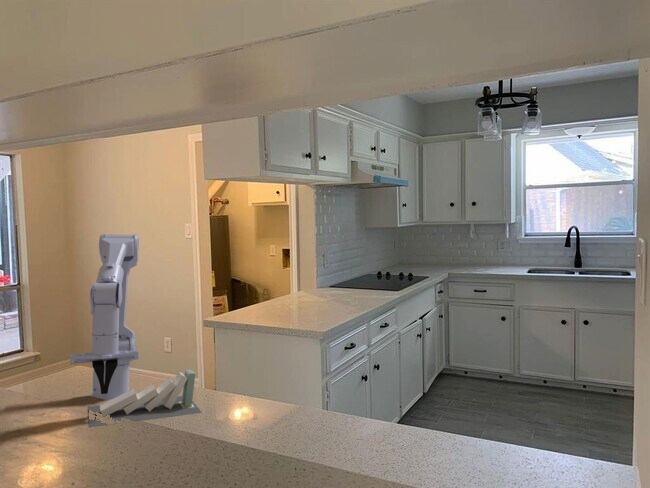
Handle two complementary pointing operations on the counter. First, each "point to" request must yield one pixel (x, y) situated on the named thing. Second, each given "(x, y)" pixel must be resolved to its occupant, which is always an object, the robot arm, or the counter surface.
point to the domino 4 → (175, 390)
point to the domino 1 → (118, 403)
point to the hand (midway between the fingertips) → (104, 392)
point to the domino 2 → (141, 398)
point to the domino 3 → (160, 394)
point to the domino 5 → (188, 388)
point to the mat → (147, 412)
